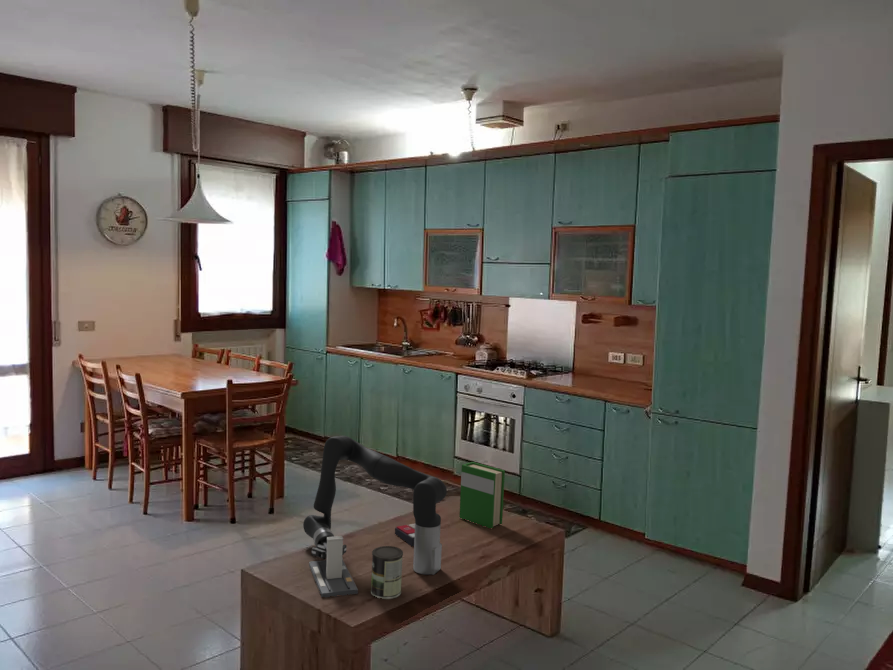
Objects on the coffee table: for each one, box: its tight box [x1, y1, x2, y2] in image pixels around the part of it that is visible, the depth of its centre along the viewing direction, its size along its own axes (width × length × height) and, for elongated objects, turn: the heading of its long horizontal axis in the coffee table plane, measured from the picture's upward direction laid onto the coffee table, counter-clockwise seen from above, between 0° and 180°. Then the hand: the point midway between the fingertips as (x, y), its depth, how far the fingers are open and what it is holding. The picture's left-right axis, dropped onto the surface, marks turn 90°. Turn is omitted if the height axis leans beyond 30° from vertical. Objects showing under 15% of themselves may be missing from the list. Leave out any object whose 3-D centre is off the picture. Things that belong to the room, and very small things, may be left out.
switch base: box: [308, 558, 359, 598], centre depth 252 cm, size 26×12×2 cm, turn 20°
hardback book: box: [459, 461, 506, 529], centre depth 313 cm, size 18×7×24 cm, turn 49°
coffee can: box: [370, 545, 404, 600], centre depth 243 cm, size 10×10×14 cm
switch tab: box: [326, 535, 344, 579], centre depth 249 cm, size 2×5×14 cm, turn 110°
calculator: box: [394, 523, 415, 547], centre depth 293 cm, size 11×4×15 cm
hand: (334, 559), depth 250 cm, fingers closed
